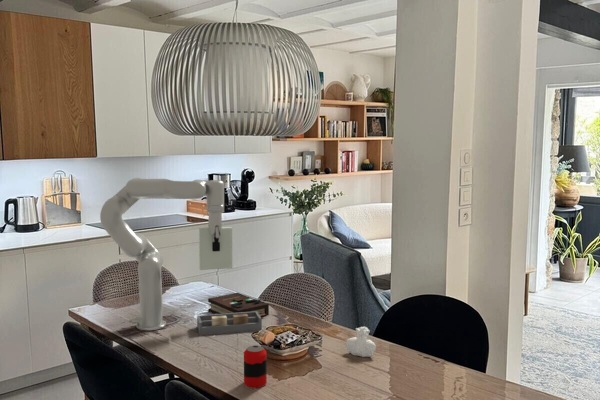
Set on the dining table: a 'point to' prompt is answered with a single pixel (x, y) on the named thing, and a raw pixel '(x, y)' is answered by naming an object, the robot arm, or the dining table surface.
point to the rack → (228, 323)
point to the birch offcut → (219, 320)
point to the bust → (361, 344)
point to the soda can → (255, 366)
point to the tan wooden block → (240, 319)
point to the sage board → (215, 258)
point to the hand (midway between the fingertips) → (215, 250)
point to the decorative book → (237, 304)
